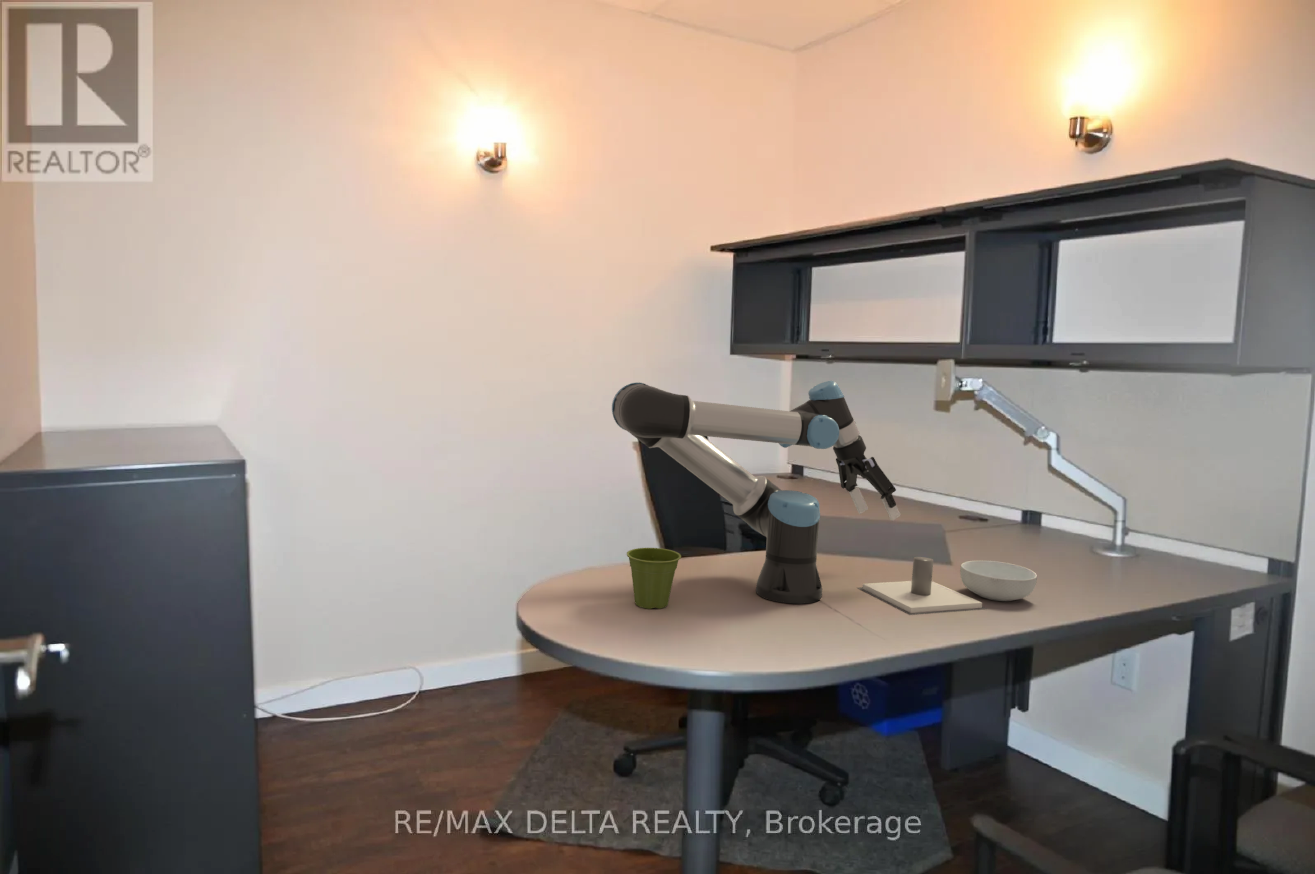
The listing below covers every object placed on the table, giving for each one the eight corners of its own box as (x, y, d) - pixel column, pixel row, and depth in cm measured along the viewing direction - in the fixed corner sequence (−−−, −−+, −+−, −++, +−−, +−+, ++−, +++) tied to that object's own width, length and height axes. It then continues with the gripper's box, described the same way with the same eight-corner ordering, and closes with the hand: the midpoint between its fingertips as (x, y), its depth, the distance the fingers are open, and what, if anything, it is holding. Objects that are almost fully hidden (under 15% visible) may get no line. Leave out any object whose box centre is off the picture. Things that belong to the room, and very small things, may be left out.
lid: (910, 613, 188) (914, 571, 187) (862, 588, 205) (865, 550, 204) (981, 607, 194) (985, 567, 193) (928, 584, 212) (931, 547, 211)
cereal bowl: (945, 595, 205) (948, 566, 204) (976, 584, 217) (979, 556, 216) (1017, 613, 193) (1020, 582, 192) (1045, 600, 205) (1048, 571, 204)
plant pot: (620, 610, 182) (622, 558, 181) (629, 594, 194) (631, 545, 192) (675, 615, 180) (678, 562, 179) (681, 599, 192) (684, 549, 191)
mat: (909, 616, 186) (909, 614, 186) (856, 589, 206) (856, 587, 206) (988, 611, 194) (988, 608, 193) (929, 585, 213) (929, 583, 213)
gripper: (888, 435, 202) (922, 512, 206) (830, 432, 225) (861, 501, 230) (864, 450, 200) (898, 528, 204) (808, 445, 223) (840, 516, 227)
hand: (879, 514), depth 217 cm, fingers open, 13 cm apart
